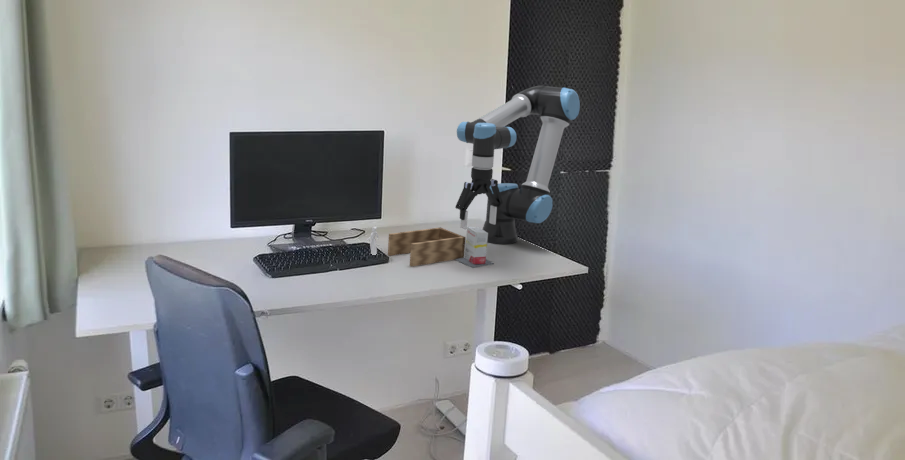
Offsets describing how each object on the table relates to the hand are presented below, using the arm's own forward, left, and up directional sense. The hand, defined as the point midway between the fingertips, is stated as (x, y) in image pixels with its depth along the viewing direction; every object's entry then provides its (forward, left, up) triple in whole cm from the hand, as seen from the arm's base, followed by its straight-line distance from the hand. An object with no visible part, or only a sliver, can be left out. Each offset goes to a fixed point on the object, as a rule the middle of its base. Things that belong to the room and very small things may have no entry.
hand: (478, 226), depth 255 cm
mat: (0, 0, -13) cm, 13 cm away
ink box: (0, 0, -13) cm, 13 cm away
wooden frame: (+13, -13, -13) cm, 22 cm away
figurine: (+31, -20, -14) cm, 40 cm away
